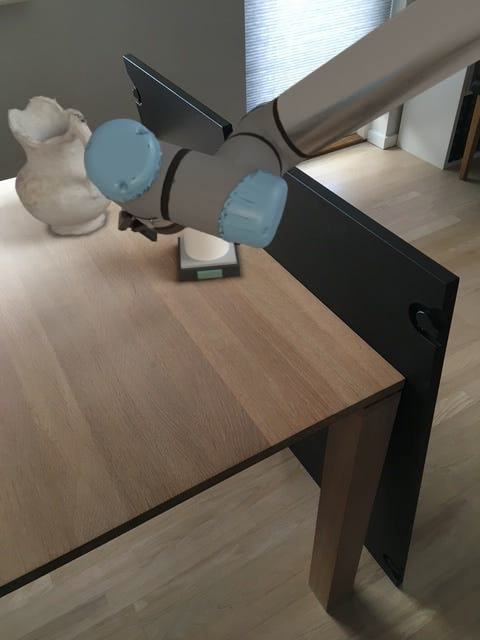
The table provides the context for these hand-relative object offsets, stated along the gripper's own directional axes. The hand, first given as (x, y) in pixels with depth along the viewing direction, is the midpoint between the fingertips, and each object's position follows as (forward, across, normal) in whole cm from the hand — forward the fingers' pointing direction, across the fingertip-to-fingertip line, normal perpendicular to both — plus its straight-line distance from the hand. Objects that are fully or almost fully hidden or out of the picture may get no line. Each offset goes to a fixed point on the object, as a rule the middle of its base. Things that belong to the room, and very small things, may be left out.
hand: (196, 235), depth 86 cm
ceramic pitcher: (+24, -30, +6) cm, 39 cm away
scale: (+16, -1, -2) cm, 16 cm away
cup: (+14, -1, 0) cm, 14 cm away
